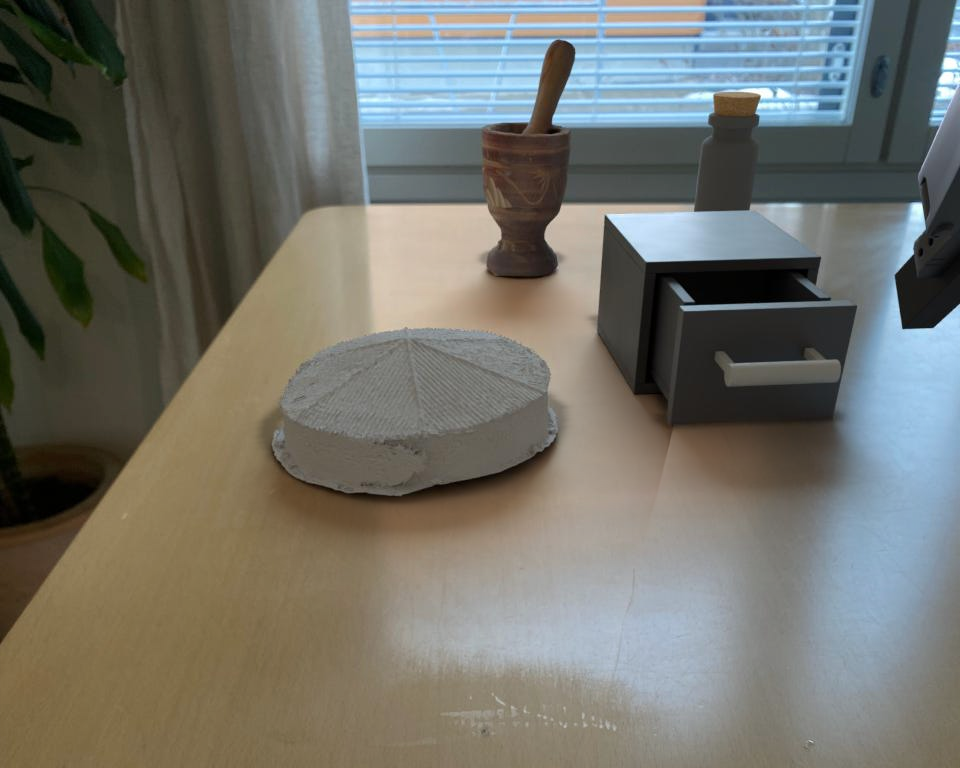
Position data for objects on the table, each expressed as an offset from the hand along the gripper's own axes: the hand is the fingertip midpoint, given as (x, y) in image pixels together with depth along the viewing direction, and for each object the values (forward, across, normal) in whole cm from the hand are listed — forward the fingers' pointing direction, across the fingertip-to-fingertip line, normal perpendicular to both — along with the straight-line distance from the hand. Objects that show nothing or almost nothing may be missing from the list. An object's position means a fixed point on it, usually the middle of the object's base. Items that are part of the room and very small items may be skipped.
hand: (913, 301), depth 45 cm
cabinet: (+33, 0, +13) cm, 35 cm away
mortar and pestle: (+54, -10, +34) cm, 64 cm away
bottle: (+56, +12, +36) cm, 68 cm away
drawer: (+25, 0, +6) cm, 25 cm away
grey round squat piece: (+24, -23, +4) cm, 33 cm away
